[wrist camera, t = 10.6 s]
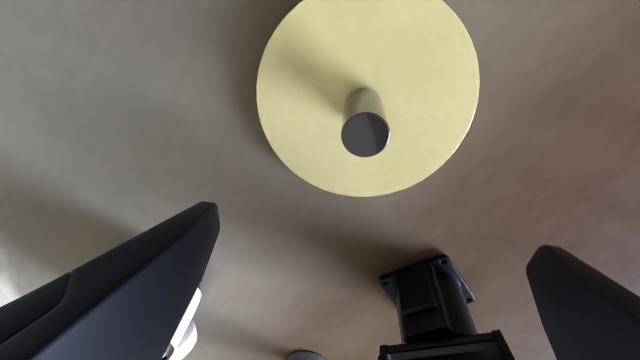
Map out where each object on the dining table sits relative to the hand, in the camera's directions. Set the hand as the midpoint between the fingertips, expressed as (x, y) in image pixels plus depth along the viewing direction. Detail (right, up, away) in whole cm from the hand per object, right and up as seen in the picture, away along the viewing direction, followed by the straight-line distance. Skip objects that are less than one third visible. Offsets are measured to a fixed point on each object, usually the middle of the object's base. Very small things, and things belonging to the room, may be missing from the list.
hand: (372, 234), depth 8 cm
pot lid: (+1, +6, +10) cm, 12 cm away
